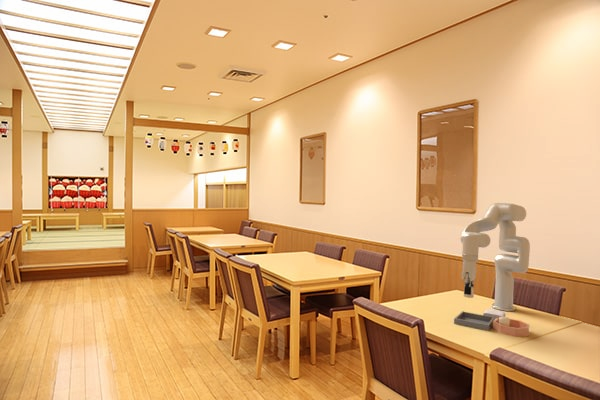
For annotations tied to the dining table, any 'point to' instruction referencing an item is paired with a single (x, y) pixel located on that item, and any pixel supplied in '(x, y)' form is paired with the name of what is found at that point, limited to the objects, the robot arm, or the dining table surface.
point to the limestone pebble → (504, 321)
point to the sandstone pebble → (471, 293)
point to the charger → (494, 313)
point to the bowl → (512, 328)
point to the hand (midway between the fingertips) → (468, 292)
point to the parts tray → (474, 320)
